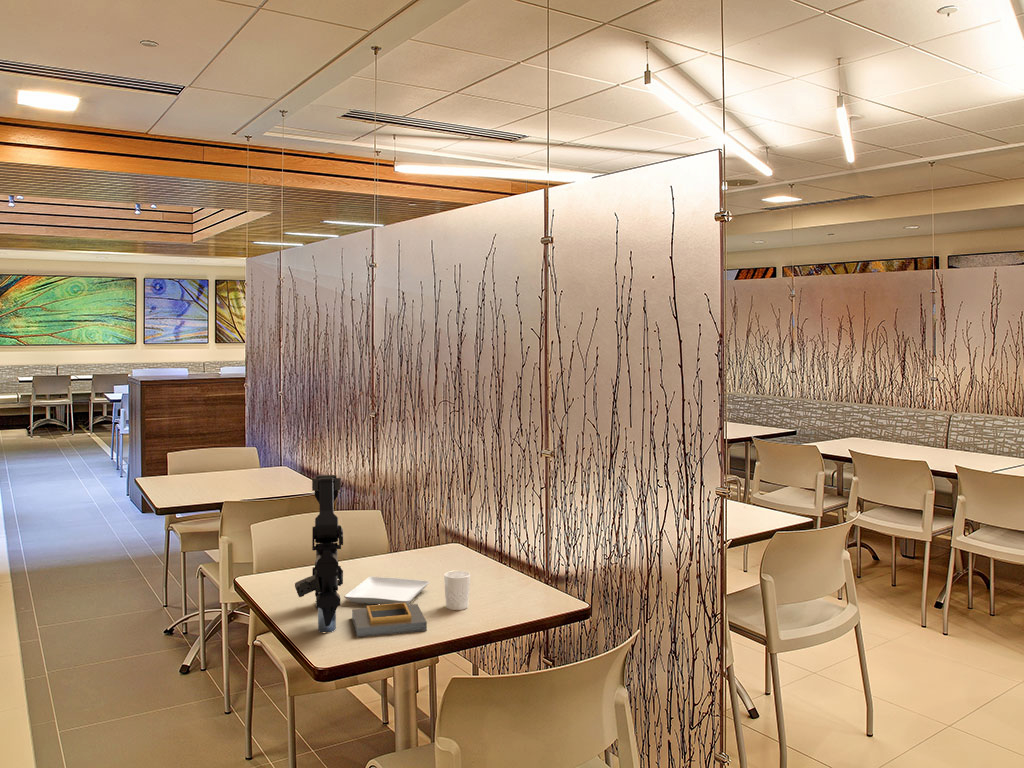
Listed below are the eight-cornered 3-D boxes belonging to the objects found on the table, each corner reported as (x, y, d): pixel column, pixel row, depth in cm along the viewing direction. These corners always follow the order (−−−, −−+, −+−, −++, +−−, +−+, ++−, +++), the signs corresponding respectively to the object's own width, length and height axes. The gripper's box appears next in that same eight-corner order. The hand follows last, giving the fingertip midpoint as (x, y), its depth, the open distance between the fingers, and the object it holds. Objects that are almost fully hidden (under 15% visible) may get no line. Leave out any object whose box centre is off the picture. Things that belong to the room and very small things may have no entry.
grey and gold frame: (352, 618, 224) (352, 604, 224) (417, 612, 230) (417, 599, 229) (356, 637, 209) (356, 622, 209) (426, 630, 214) (426, 616, 214)
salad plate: (409, 611, 232) (408, 600, 231) (342, 606, 236) (342, 595, 236) (430, 590, 252) (430, 579, 252) (369, 586, 257) (369, 575, 256)
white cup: (470, 602, 239) (470, 570, 239) (469, 610, 231) (469, 577, 231) (444, 602, 239) (444, 570, 238) (443, 611, 231) (443, 577, 231)
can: (317, 627, 216) (317, 599, 216) (335, 626, 217) (335, 598, 217) (318, 633, 212) (318, 604, 211) (336, 632, 213) (336, 603, 213)
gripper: (296, 560, 221) (296, 614, 221) (297, 578, 203) (297, 637, 203) (336, 557, 224) (336, 611, 224) (340, 575, 206) (340, 633, 206)
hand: (326, 622), depth 214 cm, fingers closed on can, 5 cm apart
